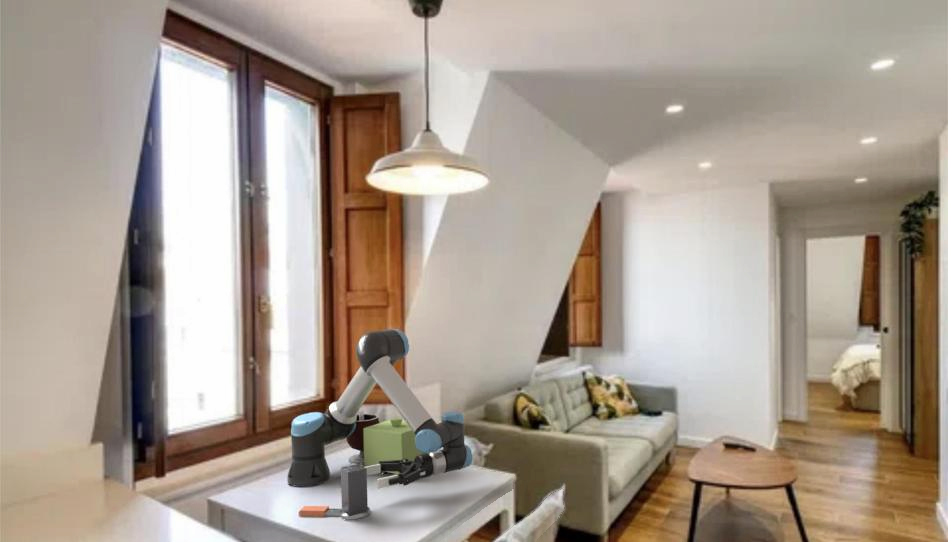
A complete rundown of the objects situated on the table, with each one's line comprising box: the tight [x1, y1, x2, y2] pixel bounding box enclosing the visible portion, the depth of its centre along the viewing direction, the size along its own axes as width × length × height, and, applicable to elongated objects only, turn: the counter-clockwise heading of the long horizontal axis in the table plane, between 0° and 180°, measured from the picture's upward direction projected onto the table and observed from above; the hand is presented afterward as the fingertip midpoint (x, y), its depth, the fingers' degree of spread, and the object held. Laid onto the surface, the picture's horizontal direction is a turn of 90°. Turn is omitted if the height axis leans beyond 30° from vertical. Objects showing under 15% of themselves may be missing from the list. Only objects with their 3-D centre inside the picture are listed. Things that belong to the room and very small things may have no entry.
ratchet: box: [298, 505, 371, 521], centre depth 169 cm, size 22×9×4 cm, turn 83°
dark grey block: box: [340, 464, 369, 516], centre depth 168 cm, size 6×6×13 cm
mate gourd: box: [345, 406, 380, 465], centre depth 226 cm, size 16×14×20 cm
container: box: [363, 417, 424, 477], centre depth 208 cm, size 19×16×20 cm
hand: (369, 478), depth 171 cm, fingers open, 13 cm apart
